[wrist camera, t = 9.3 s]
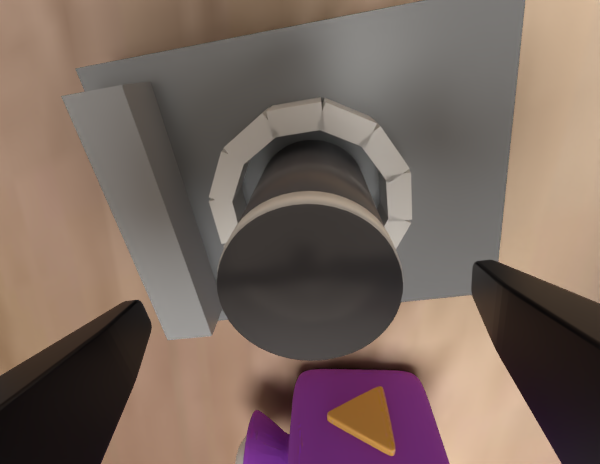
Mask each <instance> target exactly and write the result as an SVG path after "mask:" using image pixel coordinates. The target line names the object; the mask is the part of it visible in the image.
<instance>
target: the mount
mask: <svg viewBox="0 0 600 464" xmlns="http://www.w3.org/2000/svg"><path fill="white" fill-rule="evenodd" d="M524 8H525V0H423V1H418V2H413V3H408V4H403V5H398V6H393V7H387V8H382V9H377V10H372V11H367V12H362V13H357V14H352V15H347V16H342V17H336V18H331V19H326V20H321V21H316V22H311V23H306V24H301V25H296V26H290V27H285V28H280V29H275V30H270V31H265V32H260V33H255V34H250V35H244V36H239V37H234V38H229V39H224V40H219V41H214V42H209V43H204V44H198V45H193V46H188V47H183V48H178V49H173V50H168V51H163V52H158V53H153V54H147V55H142V56H137V57H132V58H127V59H122V60H117V61H112V62H107V63H101V64H96V65H91V66H86V67H81V68H76V71H77V74H78V76H79V78H80V81H81V83H82V86H83V88H84V91H85V92H81V93H75V94H70V95H65V96H61V97H62V99H63V101H64V104H65V106H66V108H67V110H68V113H69V115H70V117H71V120H72V122H73V124H74V127H75V129H76V131H77V133H78V136H79V138H80V140H81V143H82V145H83V147H84V149H85V152H86V154H87V156H88V159H89V161H90V163H91V165H92V168H93V170H94V172H95V175H96V177H97V179H98V181H99V184H100V186H101V188H102V191H103V193H104V195H105V198H106V200H107V202H108V204H109V207H110V209H111V211H112V214H113V216H114V218H115V220H116V223H117V225H118V227H119V230H120V232H121V234H122V236H123V239H124V241H125V243H126V246H127V248H128V250H129V252H130V255H131V257H132V259H133V262H134V264H135V266H136V269H137V271H138V273H139V275H140V278H141V280H142V282H143V285H144V287H145V289H146V291H147V294H148V296H149V298H150V301H151V303H152V305H153V307H154V310H155V312H156V314H157V317H158V319H159V321H160V323H161V326H162V328H163V330H164V333H165V335H166V337H167V340H175V339H185V338H195V337H206V336H212V334H213V332H214V329H215V327H216V324H217V321H219V320H228V318H227V316H226V315H225V313H224V311H223V309H222V306H221V304H220V301H219V297H218V292H217V268H218V264H219V260H220V257H221V254H222V252H223V249H224V247H225V245H226V243H227V241H228V239H229V237H230V235H231V233H232V232H233V230H234V228H235V227H236V225H237V224H238V223H239V221H240V219H241V217H242V215H243V213H244V211H245V209H246V207H247V205H248V203H249V200H250V198H251V196H252V194H253V192H254V190H255V188H256V186H257V184H258V182H259V180H260V178H261V176H262V174H263V172H264V170H265V168H266V166H267V164H268V163H269V161H270V160H271V159H272V158H273V156H274V155H276V154H277V153H278V152H279V151H280V150H282V149H283V148H285V147H286V146H288V145H290V144H293V143H296V142H299V141H303V140H321V141H326V142H330V143H333V144H335V145H337V146H339V147H341V148H342V149H344V150H345V151H346V152H347V153H349V154H350V155H351V156H352V157H353V159H354V160H355V161H356V163H357V164H358V166H359V168H360V170H361V172H362V174H363V177H364V179H365V182H366V184H367V186H368V189H369V191H370V194H371V196H372V198H373V201H374V203H375V206H376V208H377V211H378V213H379V215H380V218H381V220H382V223H383V225H384V227H385V229H386V231H387V232H388V234H389V236H390V238H391V240H392V242H393V244H394V247H395V249H396V251H397V254H398V256H399V259H400V262H401V266H402V272H403V294H402V299H401V302H407V301H416V300H426V299H436V298H446V297H456V296H466V295H472V292H471V282H472V268H473V264H474V262H476V261H481V260H494V261H497V262H498V259H499V249H500V240H501V230H502V220H503V211H504V201H505V191H506V182H507V172H508V162H509V153H510V143H511V133H512V124H513V114H514V104H515V95H516V85H517V75H518V66H519V56H520V46H521V37H522V27H523V17H524Z"/></svg>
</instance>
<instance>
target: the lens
mask: <svg viewBox="0 0 600 464" xmlns="http://www.w3.org/2000/svg"><path fill="white" fill-rule="evenodd" d="M217 292H218V297H219V301H220V304H221V306H222V309H223V311H224V313H225V315H226V316H227V318H228V320H229V321H230V323H231V324H232V325H233V326H234V328H235V329H236V330H237V331H238V332H239V333H240V334H241V335H242V336H243V337H245V338H246V339H247V340H248V341H250V342H251V343H253V344H254V345H256V346H258V347H259V348H261V349H263V350H266V351H268V352H270V353H273V354H275V355H278V356H282V357H286V358H290V359H297V360H309V361H313V360H327V359H333V358H337V357H342V356H345V355H348V354H350V353H353V352H355V351H357V350H359V349H362V348H363V347H365V346H367V345H368V344H370V343H371V342H373V341H374V340H375V339H376V338H378V337H379V336H380V335H381V334H382V333H383V332H384V331H385V330H386V329H387V327H388V326H389V325H390V323H391V322H392V321H393V319H394V317H395V315H396V313H397V311H398V309H399V306H400V303H401V299H402V294H403V272H402V266H401V262H400V259H399V256H398V254H397V251H396V249H395V247H394V244H393V242H392V240H391V238H390V236H389V234H388V232H387V231H386V229H385V227H384V225H383V223H382V220H381V218H380V215H379V213H378V211H377V208H376V206H375V203H374V201H373V198H372V196H371V194H370V191H369V189H368V186H367V184H366V182H365V179H364V177H363V174H362V172H361V170H360V168H359V166H358V164H357V163H356V161H355V160H354V159H353V157H352V156H351V155H350V154H349V153H347V152H346V151H345V150H344V149H342V148H341V147H339V146H337V145H335V144H333V143H330V142H326V141H321V140H303V141H299V142H296V143H293V144H290V145H288V146H286V147H285V148H283V149H282V150H280V151H279V152H278V153H277V154H276V155H274V156H273V158H272V159H271V160H270V161H269V163H268V164H267V166H266V168H265V170H264V172H263V174H262V176H261V178H260V180H259V182H258V184H257V186H256V188H255V190H254V192H253V194H252V196H251V198H250V200H249V203H248V205H247V207H246V209H245V211H244V213H243V215H242V217H241V219H240V221H239V223H238V224H237V225H236V227H235V228H234V230H233V232H232V233H231V235H230V237H229V239H228V241H227V243H226V245H225V247H224V249H223V252H222V254H221V257H220V260H219V264H218V268H217Z"/></svg>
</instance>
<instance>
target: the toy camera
mask: <svg viewBox="0 0 600 464" xmlns="http://www.w3.org/2000/svg"><path fill="white" fill-rule="evenodd" d="M235 464H449V461H448V458H447V455H446V452H445V449H444V446H443V443H442V440H441V437H440V434H439V430H438V427H437V424H436V421H435V418H434V415H433V412H432V409H431V406H430V403H429V401H428V398H427V395H426V392H425V390H424V388H423V385H422V383H421V382H420V380H419V379H418V378H417V377H416V375H414V374H412V373H410V372H405V371H396V370H359V369H313V370H307V371H304V372H303V373H301V374H300V375H299V377H298V379H297V381H296V384H295V388H294V394H293V401H292V413H291V426H290V434H287V433H286V432H284V431H283V430H282V429H281V428H280V427H279V426H278V425H276V424H275V423H274V422H273V421H272V420H271V419H270V418H268V417H267V416H266V415H265V414H263V413H262V412H260V411H258V410H256V411H254V413H253V414H252V417H251V420H250V423H249V427H248V431H247V435H246V437H245V438H244V439H243V441H242V442H241V444H240V446H239V449H238V452H237V456H236V462H235Z"/></svg>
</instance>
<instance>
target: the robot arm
mask: <svg viewBox="0 0 600 464" xmlns="http://www.w3.org/2000/svg"><path fill="white" fill-rule="evenodd" d="M471 292H472V296H473V299H474V301H475V303H476V306H477V308H478V310H479V313H480V315H481V317H482V320H483V322H484V324H485V326H486V329H487V331H488V333H489V336H490V338H491V340H492V342H493V345H494V347H495V349H496V351H497V353H498V354H499V356H500V358H501V360H502V361H503V363H504V365H505V367H506V368H507V370H508V372H509V374H510V375H511V377H512V379H513V380H514V382H515V384H516V386H517V387H518V389H519V391H520V392H521V394H522V396H523V398H524V399H525V401H526V403H527V405H528V406H529V408H530V410H531V411H532V413H533V415H534V417H535V418H536V420H537V422H538V423H539V425H540V427H541V429H542V430H543V432H544V434H545V435H546V437H547V439H548V441H549V442H550V444H551V446H552V448H553V449H554V451H555V453H556V454H557V456H558V458H559V460H560V461H561V463H562V464H600V303H597V302H595V301H592V300H590V299H587V298H585V297H582V296H580V295H578V294H575V293H573V292H570V291H568V290H565V289H563V288H560V287H558V286H555V285H553V284H551V283H548V282H546V281H543V280H541V279H538V278H536V277H533V276H531V275H529V274H526V273H524V272H521V271H519V270H516V269H514V268H511V267H509V266H507V265H504V264H502V263H499V262H497V261H494V260H481V261H476V262H474V264H473V268H472V282H471ZM151 328H152V326H151V321H150V319H149V317H148V315H147V312H146V310H145V308H144V306H143V304H142V302H141V301H139V300H132V301H125V302H122V303H121V304H119V305H117V306H116V307H114V308H112V309H111V310H109V311H107V312H106V313H104V314H102V315H101V316H99V317H97V318H96V319H94V320H92V321H91V322H89V323H87V324H86V325H84V326H82V327H81V328H79V329H77V330H76V331H74V332H72V333H71V334H69V335H67V336H66V337H64V338H62V339H61V340H59V341H57V342H56V343H54V344H52V345H51V346H49V347H47V348H46V349H44V350H42V351H41V352H39V353H37V354H36V355H34V356H32V357H31V358H29V359H27V360H26V361H24V362H22V363H21V364H19V365H17V366H16V367H14V368H12V369H11V370H9V371H7V372H6V373H4V374H2V375H1V376H0V464H101V462H102V460H103V457H104V455H105V453H106V450H107V448H108V445H109V443H110V441H111V438H112V436H113V434H114V431H115V429H116V427H117V424H118V422H119V419H120V417H121V415H122V412H123V410H124V408H125V405H126V403H127V400H128V398H129V396H130V393H131V391H132V389H133V386H134V383H135V381H136V378H137V375H138V372H139V369H140V366H141V362H142V359H143V356H144V353H145V349H146V346H147V343H148V340H149V337H150V333H151Z"/></svg>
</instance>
